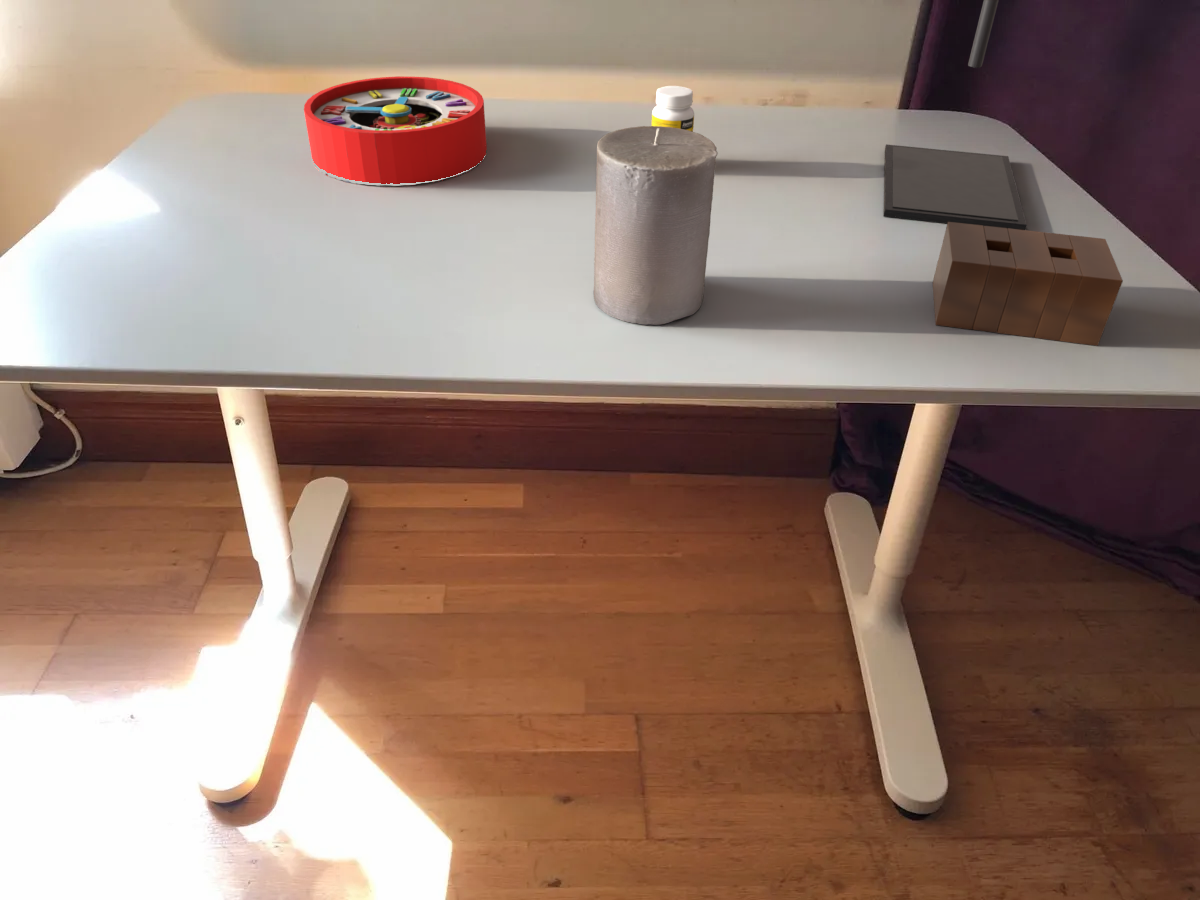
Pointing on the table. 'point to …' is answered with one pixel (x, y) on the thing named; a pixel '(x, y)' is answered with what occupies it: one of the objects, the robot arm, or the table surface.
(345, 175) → the toy clock
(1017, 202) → the tablet
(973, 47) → the stylus
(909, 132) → the table surface
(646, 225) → the pillar candle
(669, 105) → the supplement bottle
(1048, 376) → the table surface
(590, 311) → the table surface
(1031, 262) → the pen stand
